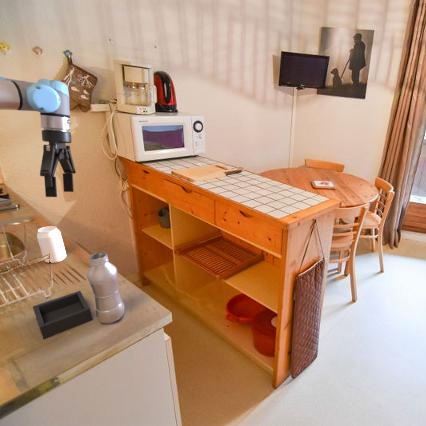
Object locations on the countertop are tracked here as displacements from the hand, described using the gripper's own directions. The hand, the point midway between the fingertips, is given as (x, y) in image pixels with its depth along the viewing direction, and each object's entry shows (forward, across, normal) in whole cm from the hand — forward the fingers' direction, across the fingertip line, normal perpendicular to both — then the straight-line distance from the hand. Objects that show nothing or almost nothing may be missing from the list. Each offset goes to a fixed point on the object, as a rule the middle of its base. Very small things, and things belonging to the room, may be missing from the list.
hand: (60, 194), depth 108 cm
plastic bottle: (+29, -36, -23) cm, 51 cm away
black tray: (+29, -33, -11) cm, 46 cm away
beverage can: (+24, 0, +2) cm, 24 cm away
